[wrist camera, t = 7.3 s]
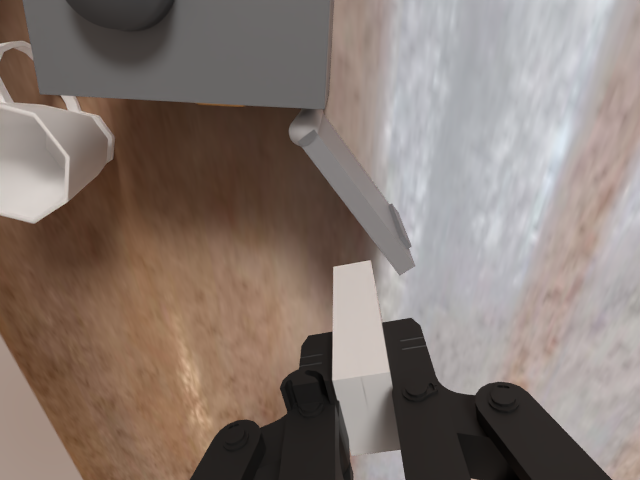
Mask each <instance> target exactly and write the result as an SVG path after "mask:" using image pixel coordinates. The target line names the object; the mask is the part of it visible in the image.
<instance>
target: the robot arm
mask: <svg viewBox="0 0 640 480" xmlns="http://www.w3.org/2000/svg"><path fill="white" fill-rule="evenodd" d="M300 357H301V359H300V364H299V365H300V367H299V370H296V371H294V372H292V373H291V374H289V375H288V376H287V377H286V378H285V379H284V380H283V381H282V384H281V386H280V390H281V393H282V396H283V399H284V402H285V405H286V408H287V414H286V415H285V416H283V417H282V418H281V419H279V420H277V421H275V422H273V423H271V424H268V425H266V426H263V427H261V428H259V426H258V425H257V424H256V423H255V422H254V421H250V420H238V421H235V422H233V423H230V424H228V425H227V426H225V427H224V428H223V429H221V430H220V431H219V432H218V434H217V435H216V436H215V437H214V439H213V441H212V442H211V444H210V446H209V448H208V449H207V451H206V453H205V454H204V456H203V458H202V460H201V461H200V463H199V465H198V467H197V468H196V470H195V472H194V474H193V475H192V477H191V479H190V480H353V471H352V467H351V463H350V452H349V447H350V451H351V455H352V456H355V455H363V454H371V453H378V452H386V451H394V450H401V454H402V461H403V467H404V473H405V479H406V480H471V478H472V479H477V480H612V479H611V478H610V477H609V476H608V475H607V474H606V473H605V472H604V471H603V470H602V469H601V468H600V467H599V466H598V465H597V464H596V463H595V462H594V461H593V459H592V458H591V457H590V456H589V455H588V454H587V453H586V452H585V451H584V450H583V449H582V448H581V447H580V446H579V445H578V444H577V443H576V442H575V441H574V440H573V439H572V438H571V437H570V436H569V435H568V433H567V432H566V431H565V430H564V429H563V428H562V427H561V426H560V425H559V424H558V423H557V422H556V421H555V420H554V419H553V418H552V417H551V416H550V415H549V414H548V413H547V412H546V411H545V410H544V409H543V407H542V406H541V405H540V404H539V403H538V402H537V401H536V400H535V399H534V398H533V397H532V396H531V395H530V394H529V393H528V392H527V391H525V390H524V389H523V388H521V387H520V386H517V385H514V384H511V383H505V382H495V383H489V384H487V385H485V386H483V387H481V388H480V389H479V391H478V392H477V393H476V395H467V394H460V393H456V392H453V391H450V390H448V389H447V388H445V387H444V386H442V385H441V384H440V382H439V381H438V379H437V377H436V375H435V371H434V368H433V365H432V362H431V358H430V355H429V352H428V349H427V346H426V342H425V339H424V336H423V333H422V329H421V326H420V325H419V324H418V323H417V322H415V321H414V320H413V319H412V318H408V319H401V320H395V321H389V322H382V316H381V311H380V306H379V301H378V295H377V290H376V285H375V280H374V274H373V269H372V264H371V260H369V261H363V262H357V263H352V264H346V265H341V266H335V267H333V332H328V333H322V334H316V335H310V336H308V337H307V339H306V340H305V342H304V343H303V345H302V347H301V356H300Z"/></svg>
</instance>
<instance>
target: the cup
mask: <svg viewBox="0 0 640 480" xmlns="http://www.w3.org/2000/svg"><path fill="white" fill-rule="evenodd" d="M11 48H15V49H17V50H19V51H22V52H24V53H26V54H27V55H28V56H29V57H30V58H31V59H32V60H33V54H32V49H31V44H29V43H27V42H25V41H13V42H6V43H0V60H1V58H2V55H3V53H4V52H5V51H7V50H9V49H11ZM33 61H34V60H33ZM61 97H62V98H63V100H64V102H65V103H66V106H67V109H68V110H64V109H60V108H55V107H51V106H47V105H41V104H27V103H15V102H13V100H12V98H11V97H10V95H9V93H8V91H7V89H6V87H5V85H4V83H3V81H2V79H1V77H0V215H1V216H5V217H9V218H13V219H17V220H21V221H25V222H29V223H33V224H35V223H36V222H38V221H39V220H41V219H42V218H44V217H45V216H47V215H48V214H50V213H52V212H53V211H55V210H56V209H58V208H59V207H61V206H62V205H64V204H65V203H67V202H68V201H70V200H71V199H72V198H73V197H74V196H75V195H76V194H77V193H79V192H80V191H81V190H82V189H83V188H84V187H85V186H86V185H87V184H88V183H90V182H91V181H92V180H93V179H94V178H95V177H97V176H98V175H99V173H100V172H101V171H102V169H103V168H104V166H105V165H106V163H108V162H110V161H111V160H113V155H114V143H115V136H114V135H113V133H112V132H111V131H110V129H109V128H108V127H107V125H106V124H105V123H104V121H103V120H102V118H101V117H100V116H98V115H95V114H91V113H87V112H83V111H81V108H80V105H79V102H78V100H77V98H76V97H75V96H65V95H61Z"/></svg>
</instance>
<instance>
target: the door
mask: <svg viewBox="0 0 640 480" xmlns="http://www.w3.org/2000/svg"><path fill="white" fill-rule="evenodd" d="M289 136H290V139H291V140H292V142H293V143H295V144H296V145H298V146H301V147H302V148H303V149H304V151H305V152H306V153H307V155H308V156H309V157H310V159H311V160H312V161H313V162H314V164H315V165H316V166H317V168H318V169H319V170H320V172H321V173H322V174H323V176H324V177H325V178H326V180H327V181H328V182H329V183H330V185H331V186H332V187H333V189H334V190H335V191H336V193H337V194H338V195H339V197H340V198H341V199H342V201H343V202H344V203H345V204H346V206H347V207H348V208H349V210H350V211H351V212H352V214H353V215H354V216H355V218H356V219H357V220H358V222H359V223H360V224H361V225H362V227H363V228H364V229H365V231H366V232H367V233H368V235H369V236H370V237H371V239H372V240H373V241H374V243H375V244H376V245H377V246H378V248H379V249H380V250H381V252H382V253H383V254H384V256H385V257H386V258H387V260H388V261H389V262H390V264H391V265H392V266H393V267H394V269H395V270H396V271H397V273H398V274H399V275H401V274H403V273H405V272H406V271H408V270H409V269H411V268H413V267H414V266H415V264H414V261H413V258H412V256H411V253H410V250H409V248H410V247H411V243H410V241H409V238H408V236H407V233H406V231H405V228H404V226H403V223H402V221H401V218H400V216H399V213H398V211H397V210H396V209H395V207H394V206H393V204H389V203H388V202H387V200H386V199H385V198H384V196H383V195H382V193H381V192H380V191H379V189H378V188H377V187H376V185H375V184H374V182H373V181H372V180H371V178H370V177H369V176H368V174H367V173H366V171H365V170H364V169H363V167H362V166H361V165H360V163H359V162H358V160H357V159H356V158H355V156H354V155H353V153H352V152H351V151H350V149H349V148H348V147H347V145H346V144H345V142H344V141H343V140H342V138H341V137H340V136H339V134H338V133H337V131H336V130H335V129H334V127H333V126H332V125H331V123H330V122H329V120H328V119H327V118H326V116H325V115H324V114H323V109H306V108H302V109H301V111H300V112H299V113H298V115H297V116H296V118H295V119H294V120H293V122H292V123H291V125H290V127H289Z"/></svg>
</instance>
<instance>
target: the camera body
mask: <svg viewBox="0 0 640 480" xmlns="http://www.w3.org/2000/svg"><path fill="white" fill-rule="evenodd" d="M23 6H24V11H25V16H26V22H27V27H28V33H29V38H30V44H31V49H32V54H33V60H34V65H35V71H36V76H37V81H38V87H39V92H40V94H46V95H65V96H83V97H102V98H120V99H139V100H154V101H173V102H191V103H197V105H214V106H233V107H244V106H246V105H247V106H266V107H284V108H306V109H325V106H326V102H327V99H328V95H329V86H330V67H331V48H332V29H333V10H334V0H23Z"/></svg>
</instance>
